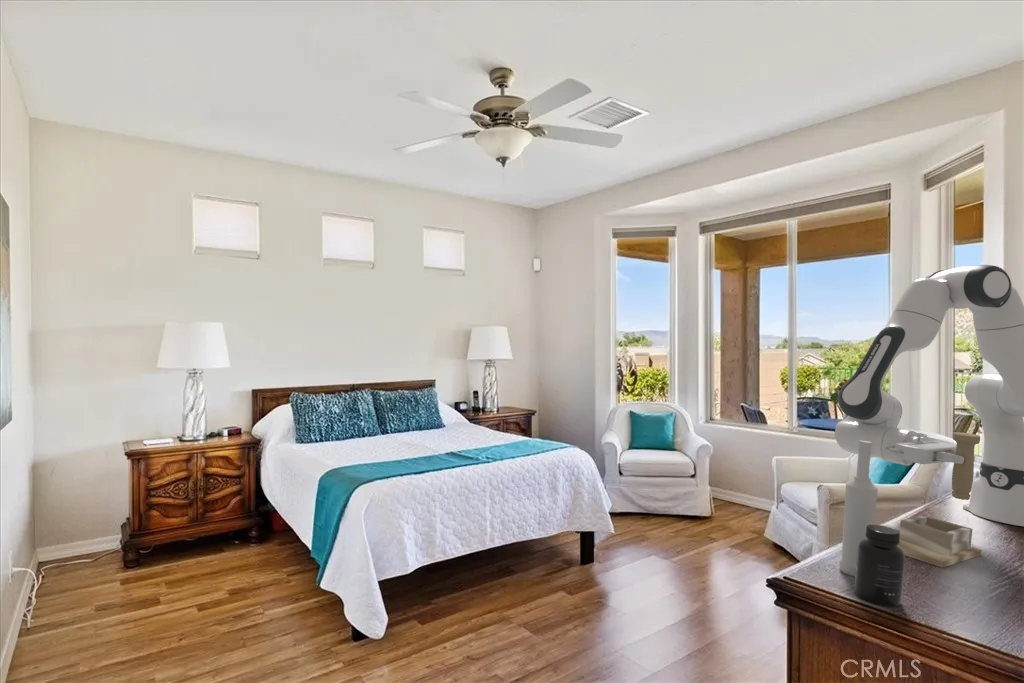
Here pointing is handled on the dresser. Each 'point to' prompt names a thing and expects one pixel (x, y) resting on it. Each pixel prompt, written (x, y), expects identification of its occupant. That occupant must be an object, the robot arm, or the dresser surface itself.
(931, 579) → the dresser surface
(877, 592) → the supplement bottle
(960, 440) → the handle
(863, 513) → the bottle
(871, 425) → the robot arm
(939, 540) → the tool holder
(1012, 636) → the dresser surface
